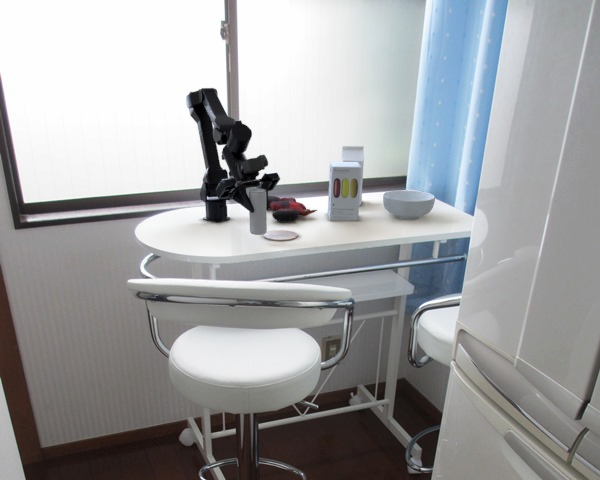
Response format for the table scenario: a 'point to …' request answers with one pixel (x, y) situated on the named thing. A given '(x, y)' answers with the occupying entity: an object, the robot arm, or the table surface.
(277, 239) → the cork coaster
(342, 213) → the supplement box
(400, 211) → the cereal bowl
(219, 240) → the table surface
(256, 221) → the beverage can
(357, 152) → the milk carton
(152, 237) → the table surface
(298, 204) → the toy motorcycle
